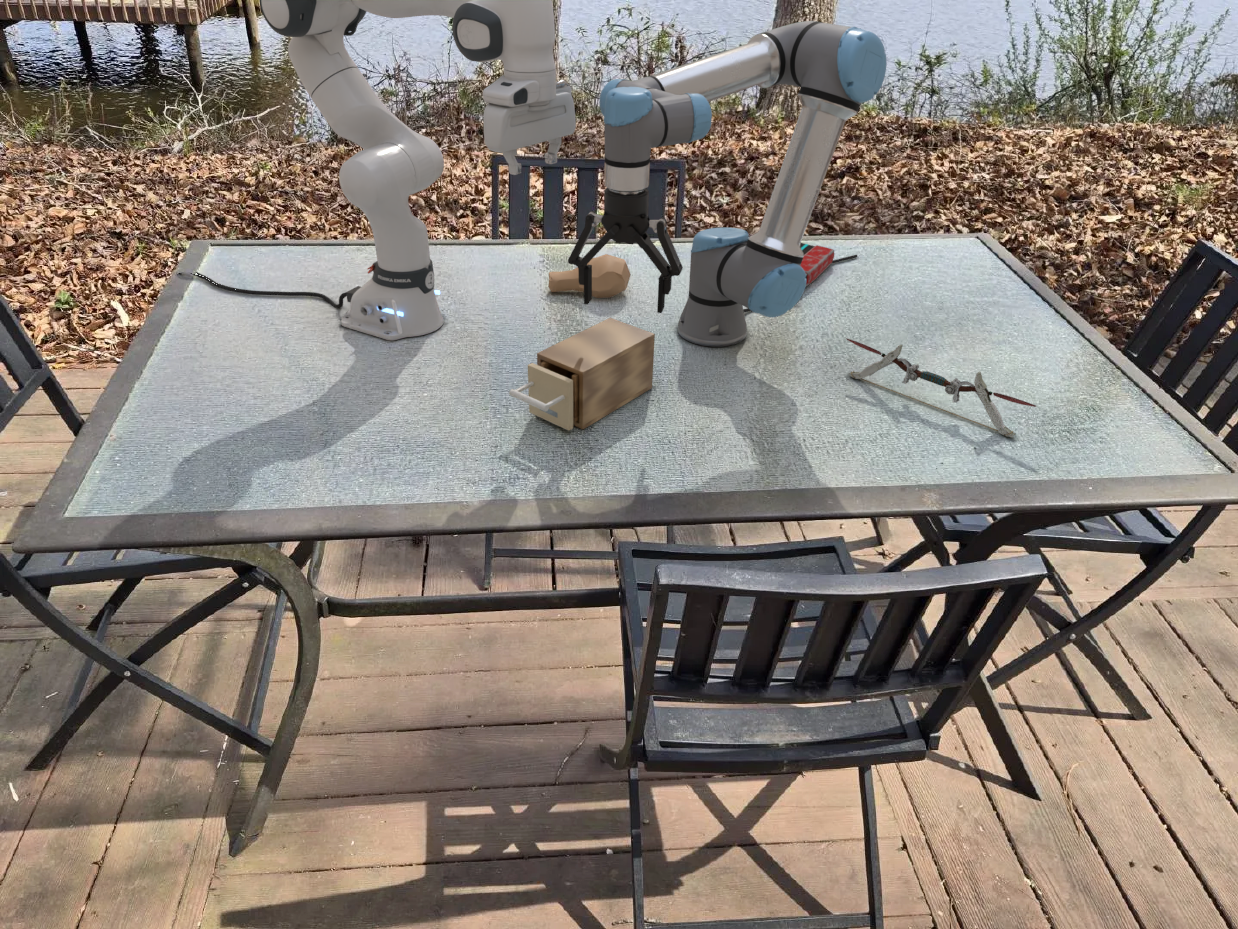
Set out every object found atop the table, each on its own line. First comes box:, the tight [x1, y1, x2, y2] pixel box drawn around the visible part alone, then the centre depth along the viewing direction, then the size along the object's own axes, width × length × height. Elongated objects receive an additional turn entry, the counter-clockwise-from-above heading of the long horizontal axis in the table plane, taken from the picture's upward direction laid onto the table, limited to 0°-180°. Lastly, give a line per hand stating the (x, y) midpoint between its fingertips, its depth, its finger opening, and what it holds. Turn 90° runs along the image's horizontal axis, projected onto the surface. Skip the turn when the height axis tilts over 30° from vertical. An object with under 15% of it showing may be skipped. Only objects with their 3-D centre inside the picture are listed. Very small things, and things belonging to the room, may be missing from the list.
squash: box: [547, 253, 631, 299], centre depth 210 cm, size 11×20×9 cm, turn 90°
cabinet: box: [536, 317, 656, 430], centre depth 166 cm, size 21×11×12 cm, turn 141°
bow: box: [845, 337, 1037, 438], centre depth 168 cm, size 39×2×10 cm, turn 47°
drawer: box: [508, 361, 579, 431], centre depth 162 cm, size 25×10×10 cm, turn 141°
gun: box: [800, 242, 835, 287], centre depth 224 cm, size 4×31×19 cm
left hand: (533, 168), depth 159 cm, fingers open, 8 cm apart
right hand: (624, 305), depth 159 cm, fingers open, 13 cm apart
